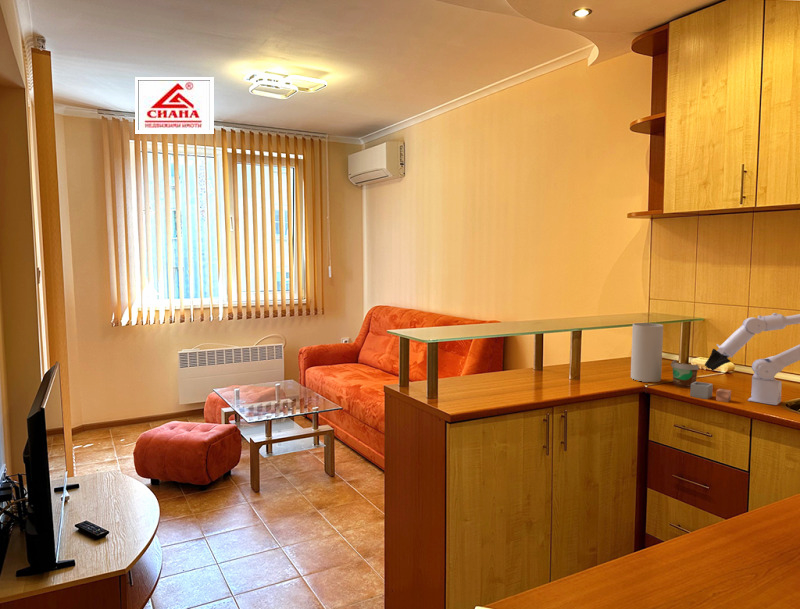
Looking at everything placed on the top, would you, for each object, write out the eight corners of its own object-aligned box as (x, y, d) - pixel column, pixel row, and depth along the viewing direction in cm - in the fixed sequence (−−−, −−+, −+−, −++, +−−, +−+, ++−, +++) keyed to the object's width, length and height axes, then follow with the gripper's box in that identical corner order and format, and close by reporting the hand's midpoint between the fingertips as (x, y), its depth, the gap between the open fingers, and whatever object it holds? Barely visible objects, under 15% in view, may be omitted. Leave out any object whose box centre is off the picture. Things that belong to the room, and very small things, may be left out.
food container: (663, 383, 243) (664, 360, 242) (674, 382, 245) (675, 359, 244) (687, 389, 232) (688, 365, 231) (698, 388, 234) (699, 364, 233)
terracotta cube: (730, 400, 214) (731, 390, 214) (727, 402, 212) (728, 392, 211) (718, 398, 217) (719, 388, 217) (716, 400, 214) (716, 390, 214)
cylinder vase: (655, 377, 255) (657, 323, 253) (665, 383, 243) (667, 326, 240) (627, 376, 256) (628, 322, 254) (635, 382, 244) (637, 326, 242)
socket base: (712, 396, 220) (712, 383, 220) (707, 399, 216) (707, 386, 216) (695, 393, 225) (695, 381, 224) (690, 396, 220) (690, 384, 220)
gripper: (729, 338, 223) (703, 362, 227) (722, 333, 212) (696, 358, 216) (744, 350, 219) (718, 374, 223) (738, 345, 208) (711, 371, 212)
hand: (708, 367), depth 219 cm, fingers open, 7 cm apart
